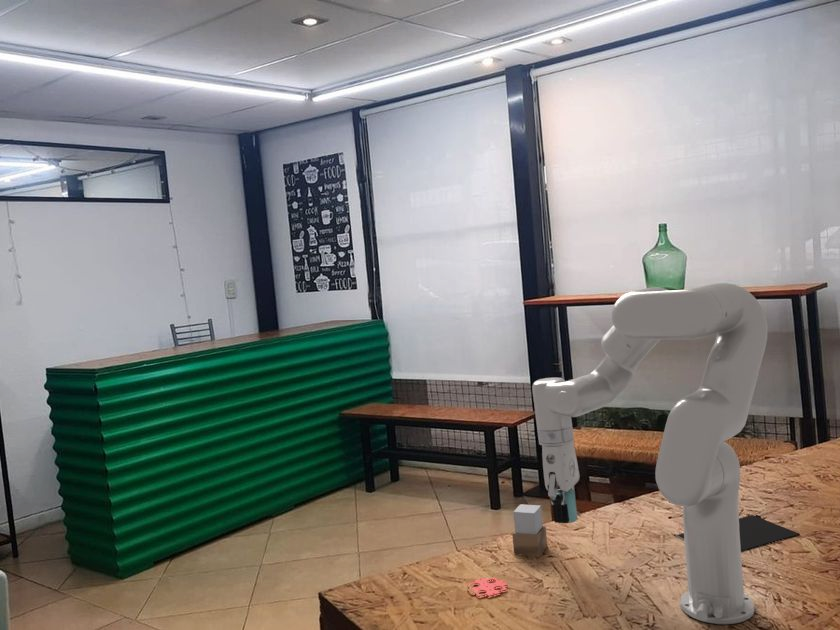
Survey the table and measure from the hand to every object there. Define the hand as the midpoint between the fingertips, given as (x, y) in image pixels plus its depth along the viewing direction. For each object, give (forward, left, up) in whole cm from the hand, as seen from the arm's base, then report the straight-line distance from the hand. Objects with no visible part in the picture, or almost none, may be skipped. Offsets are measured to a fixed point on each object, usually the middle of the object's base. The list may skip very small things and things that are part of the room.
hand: (565, 516), depth 156 cm
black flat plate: (+25, -31, -12) cm, 42 cm away
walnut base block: (+5, +11, -11) cm, 16 cm away
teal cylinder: (0, 0, -1) cm, 1 cm away
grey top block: (+5, +11, -6) cm, 13 cm away
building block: (-16, +13, -11) cm, 23 cm away
